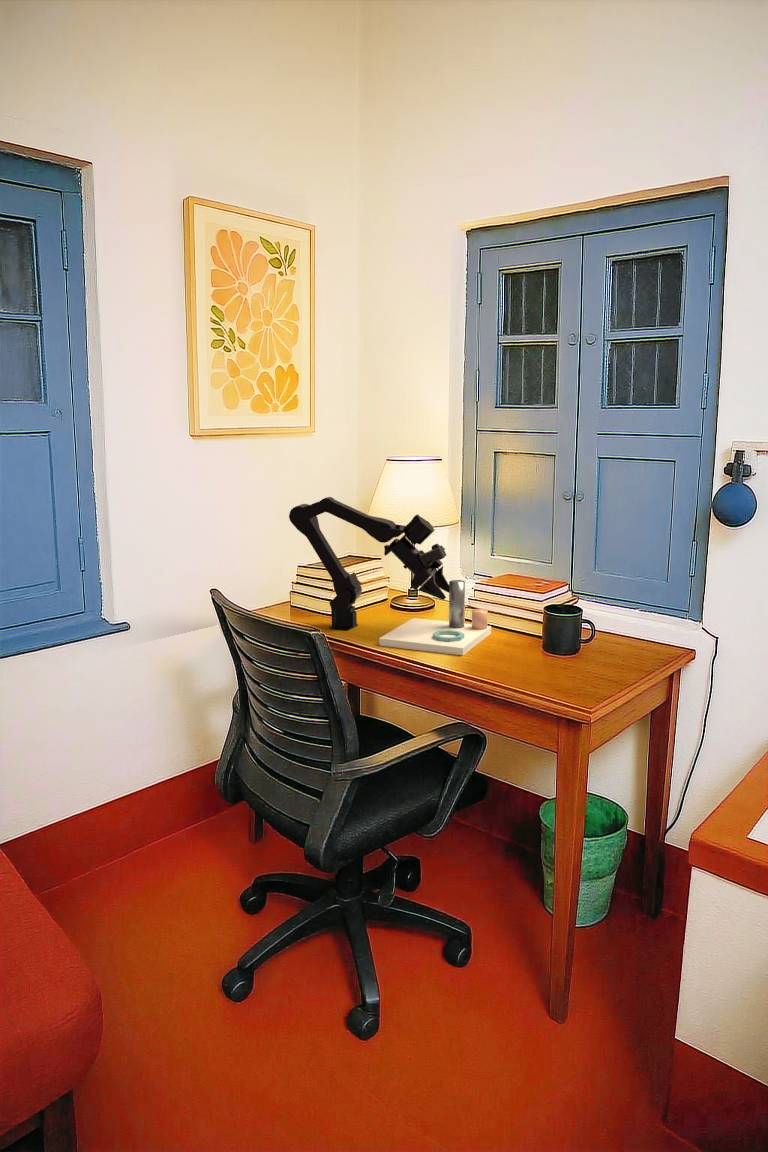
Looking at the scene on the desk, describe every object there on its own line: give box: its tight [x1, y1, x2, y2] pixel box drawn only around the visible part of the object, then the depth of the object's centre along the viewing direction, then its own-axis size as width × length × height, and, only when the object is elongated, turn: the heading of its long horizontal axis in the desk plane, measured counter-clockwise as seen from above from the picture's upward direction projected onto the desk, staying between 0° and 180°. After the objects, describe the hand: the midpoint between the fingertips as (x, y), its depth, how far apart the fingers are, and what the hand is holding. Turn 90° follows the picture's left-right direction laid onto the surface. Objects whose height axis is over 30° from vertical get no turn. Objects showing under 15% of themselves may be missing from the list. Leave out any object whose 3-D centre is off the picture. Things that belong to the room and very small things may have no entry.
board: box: [378, 617, 492, 656], centre depth 244 cm, size 24×24×3 cm
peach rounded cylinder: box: [471, 608, 489, 630], centre depth 247 cm, size 4×4×5 cm
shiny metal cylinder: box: [448, 579, 466, 628], centre depth 248 cm, size 4×4×13 cm
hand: (447, 595), depth 248 cm, fingers open, 9 cm apart
